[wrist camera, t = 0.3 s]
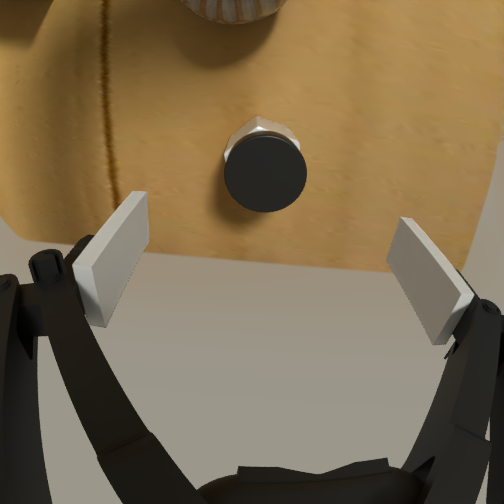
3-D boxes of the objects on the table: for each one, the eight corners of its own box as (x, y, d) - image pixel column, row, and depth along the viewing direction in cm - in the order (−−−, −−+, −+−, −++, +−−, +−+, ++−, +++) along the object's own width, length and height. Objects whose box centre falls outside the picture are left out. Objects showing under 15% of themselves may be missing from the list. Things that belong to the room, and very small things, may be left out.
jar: (220, 164, 42) (208, 197, 32) (240, 108, 38) (235, 121, 28) (282, 186, 44) (291, 225, 33) (305, 132, 40) (324, 154, 29)
